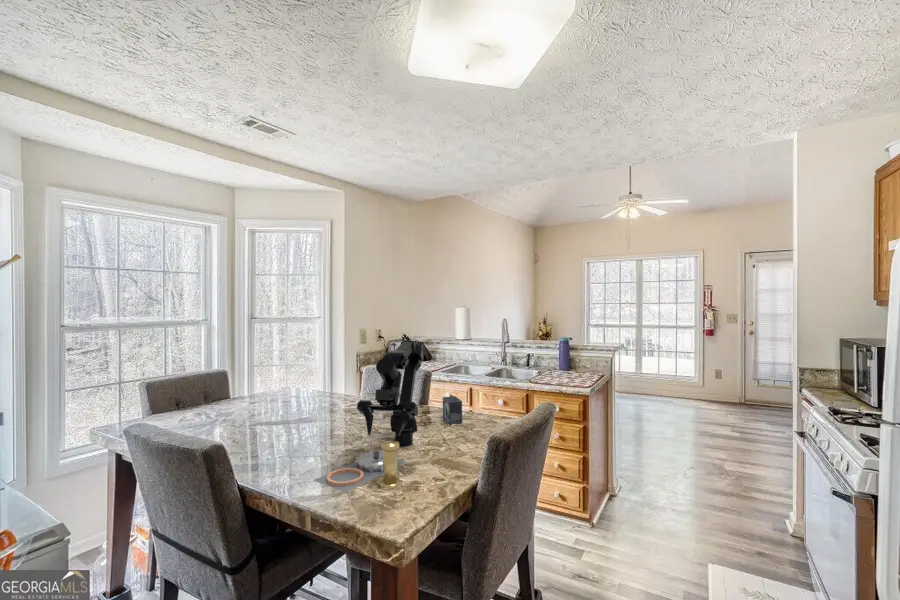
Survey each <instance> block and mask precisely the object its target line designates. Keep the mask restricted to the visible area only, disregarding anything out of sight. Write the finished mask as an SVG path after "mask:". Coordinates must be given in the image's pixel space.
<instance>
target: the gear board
mask: <svg viewBox="0 0 900 600" xmlns="http://www.w3.org/2000/svg"><path fill="white" fill-rule="evenodd" d="M406 463H407V461H406V460H401V459H398V458H397V468H398V467H401V466H403V465H404V464H406ZM380 476H383V472H380V471H379V472H373V473H369V472H367V471H362V470H360V469H359V468H357V469H356V468H355V461H354V462H352V463H349V464H347V465H345V466H342V467H341V468H339V469H336V470H333V471H331V472H329V473H327V474H325V475H322V476H320V477H317V478H315V479H313V482H317V483H319V484H322V485H324V486H327V487H329V488H333V489H335V490H338V491H341V492H344V493H349V492H351V491H352V490H354V489H357V488H358V487H360V486H362V485H364V484H367V483H368V482H370V481H373V480H375V479H376V478H378V477H380Z"/></svg>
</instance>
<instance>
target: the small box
mask: <svg viewBox="0 0 900 600" xmlns="http://www.w3.org/2000/svg"><path fill="white" fill-rule="evenodd" d="M443 419H444V420H445V421H446V422H447V423H448V424H449V425H452V424H461V423H462V424H463V401H462V400H461V399H460V398H458V397H457V396H455V395H453V396H452V395H451V396H442V420H443ZM444 420H443V421H444ZM445 421H444V422H445ZM446 422H445V423H446ZM447 423H446V424H447ZM448 424H447V425H448ZM449 425H448V426H449Z"/></svg>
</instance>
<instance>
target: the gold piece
mask: <svg viewBox="0 0 900 600" xmlns="http://www.w3.org/2000/svg"><path fill="white" fill-rule="evenodd" d="M398 449H400V447H399V442H397V441H395V440H386V441H382V442H381V444H380V450H381V451H383V474H382V478H381V479H380V480H379V482H377V485H378V486H380V488H382V489H384V488H386V489H387V488H388V489H393V488H397V487H400V486H401V484H402V483H403V480H401V479H400V478H399V477H398V467H397V459H398Z"/></svg>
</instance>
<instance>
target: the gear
mask: <svg viewBox="0 0 900 600" xmlns="http://www.w3.org/2000/svg"><path fill="white" fill-rule="evenodd" d="M354 459H355V460H354V462H355V468H356V469H357V468H359V469H360V470H362V471H367V472H369V473H373V472H379V471H380V472H383V450H374V451H372V450H370V451H368V452H365V453H364V452H362V453H360V454H359V456H355V458H354Z"/></svg>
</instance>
